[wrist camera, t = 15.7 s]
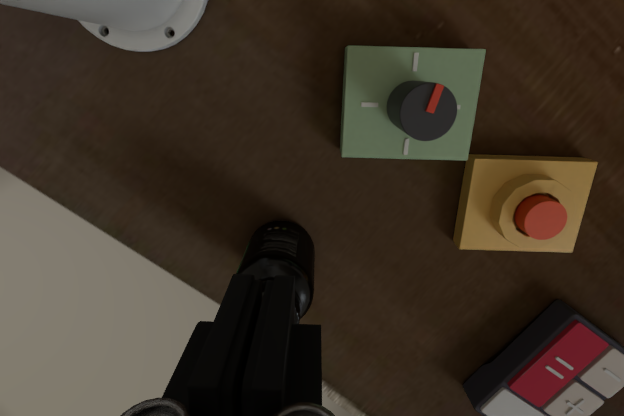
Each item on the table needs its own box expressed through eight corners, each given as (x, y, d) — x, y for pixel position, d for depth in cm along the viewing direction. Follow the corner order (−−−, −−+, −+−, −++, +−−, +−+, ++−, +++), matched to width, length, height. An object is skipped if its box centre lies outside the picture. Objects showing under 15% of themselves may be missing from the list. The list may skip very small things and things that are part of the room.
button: (510, 231, 35) (520, 239, 33) (518, 193, 34) (529, 200, 32) (550, 232, 35) (561, 240, 33) (559, 195, 34) (572, 201, 32)
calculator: (652, 370, 40) (546, 459, 43) (620, 343, 44) (525, 427, 47) (581, 316, 38) (475, 415, 41) (554, 294, 42) (460, 385, 45)
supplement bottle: (235, 247, 40) (202, 317, 29) (282, 205, 38) (266, 262, 27) (281, 289, 41) (268, 371, 30) (328, 250, 40) (332, 322, 28)
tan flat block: (452, 240, 39) (466, 258, 35) (466, 154, 36) (484, 163, 32) (560, 243, 39) (586, 262, 35) (583, 157, 36) (614, 167, 32)
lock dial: (424, 135, 33) (445, 148, 27) (379, 122, 32) (392, 133, 27) (442, 88, 31) (468, 92, 26) (396, 74, 31) (413, 74, 25)
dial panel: (339, 150, 36) (341, 157, 33) (344, 47, 33) (347, 45, 30) (456, 153, 36) (468, 161, 33) (472, 50, 33) (487, 48, 30)
